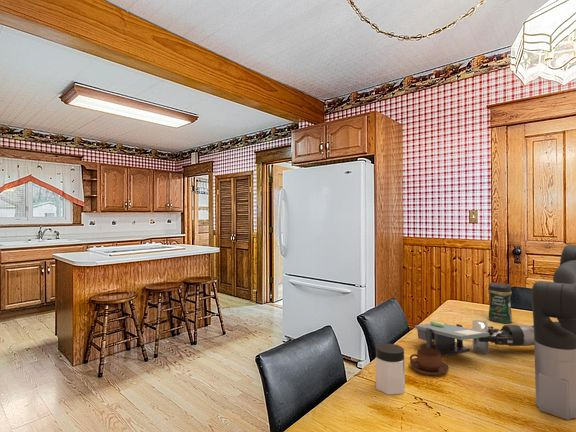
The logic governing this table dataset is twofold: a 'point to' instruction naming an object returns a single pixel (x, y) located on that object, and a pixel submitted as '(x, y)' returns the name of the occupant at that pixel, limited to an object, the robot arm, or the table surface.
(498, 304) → the coffee jar
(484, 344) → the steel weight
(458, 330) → the platform
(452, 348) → the pivot stand
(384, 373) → the jar
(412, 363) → the cup and saucer
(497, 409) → the table surface
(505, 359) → the table surface
